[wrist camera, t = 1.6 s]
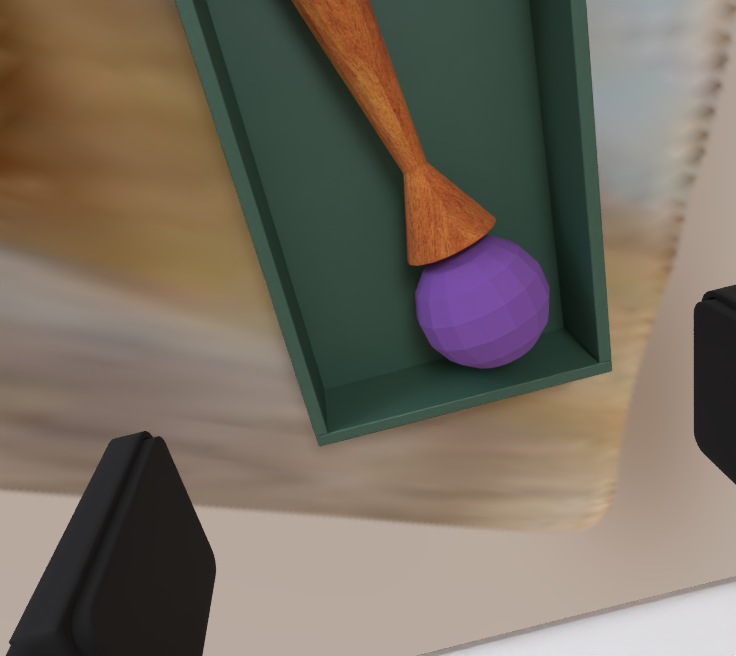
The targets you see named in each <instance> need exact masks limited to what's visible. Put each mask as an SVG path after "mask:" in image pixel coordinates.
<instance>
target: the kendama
mask: <svg viewBox="0 0 736 656" xmlns="http://www.w3.org/2000/svg"><path fill="white" fill-rule="evenodd" d="M291 1H292V2H293V4H294V5H295V7H296V9H297V10H298V12H299V13H300V15H301V16H302V18H303V19H304V21H305V22H306V24H307V25H308V27H309V29H310V30H311V32H312V33H313V35H314V36H315V38H316V39H317V41H318V42H319V44H320V46H321V47H322V49H323V50H324V52H325V53H326V55H327V56H328V58H329V59H330V61H331V63H332V64H333V66H334V67H335V69H336V70H337V72H338V73H339V75H340V76H341V78H342V80H343V81H344V83H345V84H346V86H347V87H348V89H349V90H350V92H351V93H352V95H353V97H354V98H355V100H356V101H357V103H358V104H359V106H360V107H361V109H362V110H363V112H364V114H365V115H366V117H367V118H368V120H369V121H370V123H371V124H372V126H373V127H374V129H375V131H376V132H377V134H378V135H379V137H380V138H381V140H382V141H383V143H384V144H385V146H386V148H387V149H388V151H389V152H390V154H391V155H392V157H393V158H394V160H395V161H396V163H397V164H398V166H399V168H400V169H401V171H402V172H403V174H404V196H405V218H406V240H407V260H408V262H409V264H410V265H417V266H420V265H424V264H426V266H425V268H424V270H423V272H422V275H421V278H420V281H419V283H418V286H417V289H416V292H415V301H416V314H417V319H418V321H419V324H420V326H421V328H422V330H423V331H424V333H425V335H426V337H427V339H428V341H429V343H430V344H431V346H432V347H433V348H434V349H435V350H437V351H438V352H439V353H441V354H442V355H443V356H445V357H446V358H447V359H449V360H450V361H452V362H455V363H458V364H461V365H465V366H470V367H475V368H481V369H485V368H495V367H499V366H502V365H506V364H508V363H510V362H512V361H514V360H516V359H518V358H520V357H521V356H523V355H524V354H525V353H527V352H528V351H529V350H530V349H531V348H532V347H533V346H534V344H535V343H536V341H537V340H538V338H539V336H540V335H541V333H542V331H543V329H544V327H545V326H546V324H547V322H548V314H549V284H548V282H547V280H546V278H545V275H544V273H543V271H542V269H541V266H540V264H539V263H538V262H537V261H536V260H535V259H534V258H532V257H531V256H530V255H529V254H528V253H527V252H526V251H524V250H523V249H522V248H521V247H520V246H519V245H517V244H516V243H514V242H513V241H510V240H506V239H503V238H499V237H496V236H492V235H485V234H486V233H487V232H488V231H489V230H490V229H491V228H492V227H493V226H494V224H495V221H496V218H495V217H494V216H492V215H491V214H490V213H489V212H487V211H486V210H485V209H484V208H483V207H481V206H480V205H479V204H478V203H477V202H475V201H474V200H473V199H472V198H470V197H469V196H468V195H467V194H466V193H464V192H463V191H462V190H461V189H459V188H458V187H457V186H456V185H455V184H453V183H452V182H451V181H450V180H449V179H447V178H446V177H445V176H444V175H442V174H441V173H440V172H439V171H438V170H436V169H435V168H434V167H433V166H431V165H430V164H429V163H428V162H427V161H426V158H425V155H424V152H423V150H422V147H421V144H420V141H419V138H418V135H417V133H416V130H415V127H414V124H413V121H412V119H411V116H410V113H409V110H408V107H407V105H406V102H405V99H404V96H403V93H402V91H401V88H400V85H399V82H398V79H397V77H396V74H395V71H394V68H393V65H392V62H391V60H390V57H389V54H388V51H387V48H386V46H385V43H384V40H383V37H382V34H381V32H380V29H379V26H378V23H377V20H376V18H375V15H374V12H373V9H372V6H371V4H370V1H369V0H291Z"/></svg>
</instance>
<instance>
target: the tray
mask: <svg viewBox="0 0 736 656" xmlns="http://www.w3.org/2000/svg"><path fill="white" fill-rule="evenodd" d="M369 1H370V4H371V6H372V9H373V12H374V15H375V18H376V20H377V23H378V26H379V29H380V32H381V34H382V37H383V40H384V43H385V46H386V48H387V51H388V54H389V57H390V60H391V62H392V65H393V68H394V71H395V74H396V77H397V79H398V82H399V85H400V88H401V91H402V93H403V96H404V99H405V102H406V105H407V107H408V110H409V113H410V116H411V119H412V121H413V124H414V127H415V130H416V133H417V135H418V138H419V141H420V144H421V147H422V150H423V152H424V155H425V158H426V161H427V162H428V163H429V164H430V165H431V166H433V167H434V168H435V169H436V170H438V171H439V172H440V173H441V174H442V175H444V176H445V177H446V178H447V179H449V180H450V181H451V182H452V183H453V184H455V185H456V186H457V187H458V188H459V189H461V190H462V191H463V192H464V193H466V194H467V195H468V196H469V197H470V198H472V199H473V200H474V201H475V202H477V203H478V204H479V205H480V206H481V207H483V208H484V209H485V210H486V211H487V212H489V213H490V214H491V215H492V216H494V217H495V218H496V221H495V224H494V226H493V227H492V228H491V229H490V230H489V231H488V232H487V233H486V234H485V235H492V236H496V237H499V238H503V239H506V240H510V241H513V242H514V243H516V244H517V245H519V246H520V247H521V248H522V249H523V250H524V251H526V252H527V253H528V254H529V255H530V256H531V257H532V258H534V259H535V260H536V261H537V262H538V263H539V264H540V266H541V269H542V271H543V273H544V275H545V278H546V280H547V282H548V284H549V314H548V322H547V324H546V326H545V327H544V329H543V331H542V333H541V335H540V336H539V338H538V340H537V341H536V343H535V344H534V346H533V347H532V348H531V349H530V350H529V351H528V352H527V353H525V354H524V355H523V356H521V357H520V358H518V359H516V360H514V361H512V362H510V363H508V364H506V365H502V366H499V367H495V368H485V369H481V368H475V367H470V366H465V365H461V364H458V363H455V362H452V361H450V360H449V359H447V358H446V357H445V356H443V355H442V354H441V353H439V352H438V351H437V350H435V349H434V348H433V347H432V346H431V344H430V343H429V341H428V339H427V337H426V335H425V333H424V331H423V330H422V328H421V326H420V324H419V321H418V319H417V314H416V301H415V292H416V289H417V286H418V283H419V281H420V278H421V275H422V272H423V270H424V268H425V266H426V264H424V265H420V266H417V265H410V264H409V262H408V260H407V240H406V218H405V196H404V174H403V172H402V171H401V169H400V168H399V166H398V164H397V163H396V161H395V160H394V158H393V157H392V155H391V154H390V152H389V151H388V149H387V148H386V146H385V144H384V143H383V141H382V140H381V138H380V137H379V135H378V134H377V132H376V131H375V129H374V127H373V126H372V124H371V123H370V121H369V120H368V118H367V117H366V115H365V114H364V112H363V110H362V109H361V107H360V106H359V104H358V103H357V101H356V100H355V98H354V97H353V95H352V93H351V92H350V90H349V89H348V87H347V86H346V84H345V83H344V81H343V80H342V78H341V76H340V75H339V73H338V72H337V70H336V69H335V67H334V66H333V64H332V63H331V61H330V59H329V58H328V56H327V55H326V53H325V52H324V50H323V49H322V47H321V46H320V44H319V42H318V41H317V39H316V38H315V36H314V35H313V33H312V32H311V30H310V29H309V27H308V25H307V24H306V22H305V21H304V19H303V18H302V16H301V15H300V13H299V12H298V10H297V9H296V7H295V5H294V4H293V2H292V1H291V0H175V3H176V6H177V9H178V12H179V15H180V18H181V21H182V24H183V27H184V30H185V34H186V37H187V40H188V43H189V46H190V49H191V52H192V55H193V58H194V61H195V65H196V68H197V71H198V74H199V77H200V80H201V83H202V86H203V89H204V92H205V95H206V99H207V102H208V105H209V108H210V111H211V114H212V117H213V120H214V123H215V126H216V130H217V133H218V136H219V139H220V142H221V145H222V148H223V151H224V154H225V157H226V160H227V164H228V167H229V170H230V173H231V176H232V179H233V182H234V185H235V188H236V191H237V195H238V198H239V201H240V204H241V207H242V210H243V213H244V216H245V219H246V222H247V225H248V229H249V232H250V235H251V238H252V241H253V244H254V247H255V250H256V253H257V256H258V260H259V263H260V266H261V269H262V272H263V275H264V278H265V281H266V284H267V287H268V290H269V294H270V297H271V300H272V303H273V306H274V309H275V312H276V315H277V318H278V321H279V325H280V328H281V331H282V334H283V337H284V340H285V343H286V346H287V349H288V352H289V356H290V359H291V362H292V365H293V368H294V371H295V374H296V377H297V380H298V383H299V386H300V390H301V393H302V396H303V399H304V402H305V405H306V408H307V411H308V414H309V417H310V421H311V424H312V427H313V430H314V433H315V435H316V439H317V442H318V445H319V446H323V445H327V444H331V443H335V442H339V441H343V440H347V439H351V438H354V437H358V436H362V435H366V434H370V433H374V432H378V431H382V430H385V429H389V428H393V427H397V426H401V425H405V424H409V423H413V422H416V421H420V420H424V419H428V418H432V417H436V416H440V415H444V414H447V413H451V412H455V411H459V410H463V409H467V408H471V407H475V406H478V405H482V404H486V403H490V402H494V401H498V400H502V399H506V398H509V397H513V396H517V395H521V394H525V393H529V392H533V391H537V390H540V389H544V388H548V387H552V386H556V385H560V384H564V383H568V382H571V381H575V380H579V379H583V378H587V377H591V376H595V375H599V374H602V373H606V372H610V371H612V362H611V348H610V334H609V320H608V305H607V291H606V277H605V263H604V249H603V235H602V221H601V206H600V192H599V178H598V164H597V150H596V136H595V122H594V107H593V93H592V79H591V65H590V51H589V37H588V23H587V8H586V0H369Z"/></svg>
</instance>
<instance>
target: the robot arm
mask: <svg viewBox="0 0 736 656" xmlns="http://www.w3.org/2000/svg"><path fill="white" fill-rule="evenodd" d="M694 436H695V439H696V442H697V444H698V446H699V448H700V450H701V451H702V452H703V453H704V454H705V455H706V456H707V457H708V458H709V459H710V460H711V461H712V462H713V463H714V464H715V465H716V466H717V467H718V468H719V469H720V470H721V471H722V472H723V473H724V474H725V475H726V476H728V478H730V479H731V480H732V481H733V482H734V483H735V484H736V285H733V286H728V287H724V288H720V289H716V290H712V291H708V292H706V293H705V294H704V296H703V298H702V302H698V303H697V304H696V306H695V308H694ZM215 575H216V564H215V558H214V554H213V551H212V549H211V546H210V544H209V542H208V540H207V537H206V535H205V533H204V530H203V528H202V526H201V523H200V521H199V519H198V517H197V514H196V512H195V510H194V507H193V505H192V503H191V501H190V498H189V496H188V494H187V491H186V489H185V487H184V484H183V482H182V480H181V478H180V475H179V473H178V471H177V468H176V466H175V464H174V462H173V459H172V457H171V455H170V452H169V450H168V448H167V445H166V443H165V441H164V440H163V439H162V437H160V436H158V437H154V438H153V437H152V435H151V434H150V433H149V432H147V431H144V432H139V433H135V434H131V435H127V436H123V437H119V438H115V439H112V440H111V441H110V443H109V444H108V446H107V448H106V450H105V452H104V454H103V456H102V458H101V460H100V462H99V464H98V466H97V468H96V470H95V472H94V474H93V476H92V478H91V480H90V482H89V484H88V486H87V488H86V490H85V492H84V494H83V496H82V498H81V500H80V502H79V504H78V506H77V508H76V510H75V512H74V514H73V516H72V518H71V520H70V522H69V524H68V526H67V528H66V530H65V532H64V534H63V536H62V538H61V540H60V542H59V544H58V546H57V548H56V550H55V552H54V554H53V556H52V558H51V560H50V562H49V564H48V566H47V568H46V570H45V572H44V574H43V576H42V577H41V579H40V582H39V584H38V585H37V587H36V589H35V591H34V594H33V596H32V598H31V599H30V601H29V603H28V605H27V607H26V609H25V611H24V613H23V615H22V617H21V619H20V621H19V623H18V625H17V627H16V629H15V631H14V633H13V635H12V637H11V639H10V641H9V643H10V645H11V646H10V649H9V650H8V652H7V654H6V656H202V654H203V648H204V642H205V636H206V630H207V623H208V618H209V612H210V606H211V600H212V593H213V588H214V582H215ZM418 656H736V576H735V577H731V578H727V579H722V580H718V581H714V582H710V583H706V584H702V585H698V586H694V587H690V588H685V589H682V590H678V591H674V592H669V593H665V594H661V595H657V596H653V597H649V598H645V599H641V600H637V601H633V602H629V603H625V604H621V605H617V606H613V607H609V608H605V609H601V610H597V611H593V612H589V613H585V614H581V615H577V616H573V617H569V618H565V619H561V620H557V621H553V622H549V623H545V624H541V625H537V626H533V627H529V628H525V629H521V630H517V631H513V632H509V633H505V634H501V635H497V636H493V637H489V638H485V639H481V640H477V641H473V642H470V643H465V644H461V645H458V646H453V647H449V648H445V649H441V650H437V651H434V652H430V653H426V654H422V655H418Z"/></svg>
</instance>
